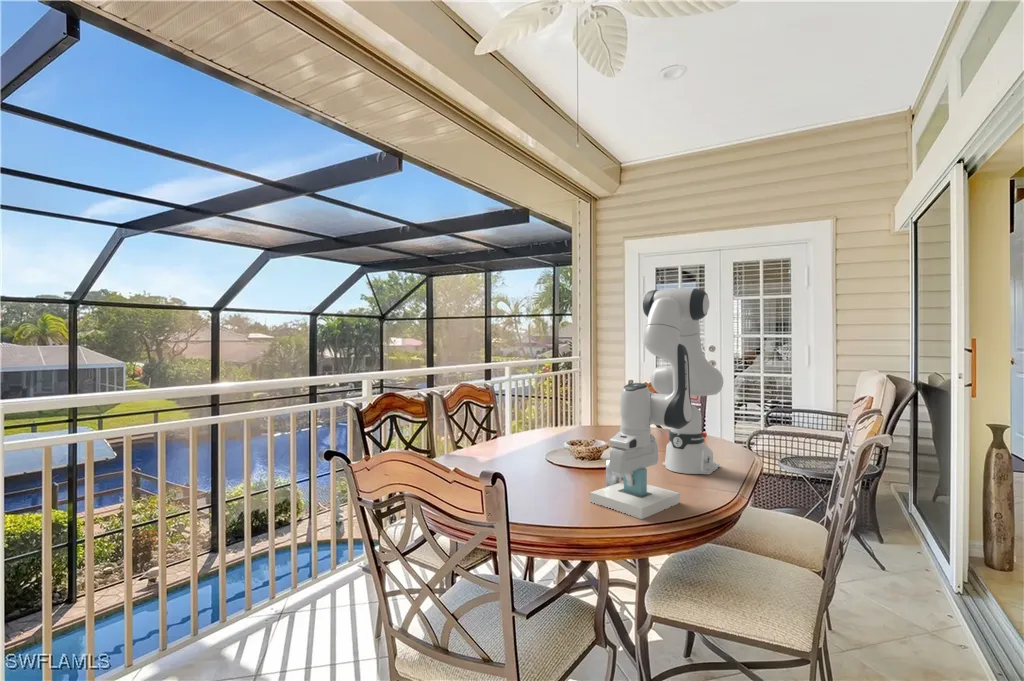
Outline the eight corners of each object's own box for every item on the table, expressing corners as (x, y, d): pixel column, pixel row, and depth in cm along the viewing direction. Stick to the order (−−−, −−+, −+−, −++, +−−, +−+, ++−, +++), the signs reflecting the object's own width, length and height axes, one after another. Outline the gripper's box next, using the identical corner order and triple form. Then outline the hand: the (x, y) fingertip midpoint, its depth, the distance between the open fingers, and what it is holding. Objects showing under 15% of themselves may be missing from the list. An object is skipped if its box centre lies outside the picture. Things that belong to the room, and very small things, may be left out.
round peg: (612, 484, 162) (612, 457, 162) (624, 488, 158) (624, 460, 158) (602, 487, 158) (602, 460, 158) (615, 491, 155) (615, 463, 155)
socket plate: (629, 488, 157) (629, 479, 157) (679, 502, 144) (679, 492, 144) (589, 502, 144) (590, 491, 144) (641, 519, 130) (641, 507, 130)
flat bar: (629, 494, 147) (629, 465, 147) (646, 499, 143) (646, 469, 143) (623, 496, 145) (623, 466, 145) (640, 501, 141) (640, 470, 141)
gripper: (645, 431, 153) (645, 475, 153) (605, 440, 140) (605, 488, 140) (663, 434, 148) (663, 479, 148) (623, 444, 135) (623, 493, 135)
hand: (635, 484), depth 144 cm, fingers closed on flat bar, 3 cm apart
